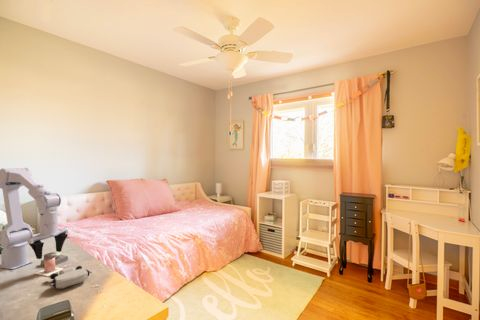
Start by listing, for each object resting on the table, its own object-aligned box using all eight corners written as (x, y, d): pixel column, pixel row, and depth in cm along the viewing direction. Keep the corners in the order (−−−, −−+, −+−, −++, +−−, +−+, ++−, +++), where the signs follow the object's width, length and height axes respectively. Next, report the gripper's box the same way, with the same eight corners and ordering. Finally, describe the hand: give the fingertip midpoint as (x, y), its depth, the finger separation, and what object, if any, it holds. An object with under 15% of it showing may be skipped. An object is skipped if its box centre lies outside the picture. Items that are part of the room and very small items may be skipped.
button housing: (40, 264, 104) (40, 260, 104) (57, 258, 111) (57, 254, 111) (51, 266, 102) (51, 262, 102) (67, 260, 109) (67, 255, 109)
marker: (41, 272, 96) (41, 255, 96) (51, 268, 100) (51, 252, 100) (48, 273, 95) (47, 256, 95) (57, 269, 99) (57, 252, 99)
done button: (44, 261, 105) (44, 255, 105) (56, 257, 110) (56, 251, 110) (52, 262, 103) (52, 256, 103) (64, 258, 108) (64, 252, 108)
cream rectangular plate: (34, 274, 96) (34, 273, 96) (51, 267, 102) (51, 266, 102) (48, 276, 93) (48, 275, 93) (64, 269, 99) (64, 268, 99)
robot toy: (46, 283, 90) (52, 296, 79) (46, 272, 90) (52, 282, 80) (83, 272, 99) (93, 282, 88) (83, 261, 99) (92, 270, 89)
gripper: (36, 228, 89) (36, 263, 89) (72, 219, 103) (73, 249, 103) (23, 227, 92) (24, 261, 92) (61, 218, 105) (61, 247, 105)
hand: (49, 254), depth 98 cm, fingers open, 7 cm apart
